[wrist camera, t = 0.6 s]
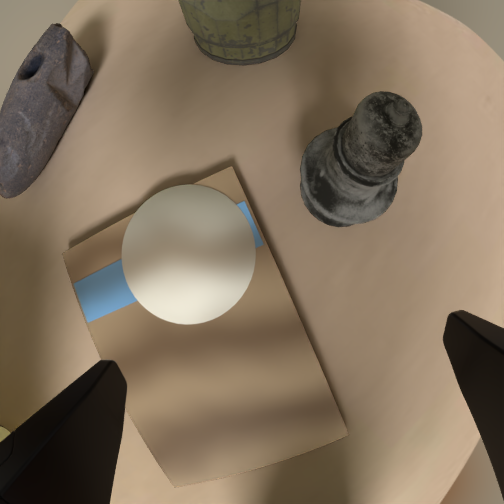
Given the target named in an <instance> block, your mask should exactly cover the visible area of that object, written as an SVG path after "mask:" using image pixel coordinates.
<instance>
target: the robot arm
mask: <svg viewBox="0 0 504 504" xmlns="http://www.w3.org/2000/svg"><path fill="white" fill-rule="evenodd" d="M443 343H444V346H445V349H446V351H447V354H448V357H449V359H450V362H451V365H452V367H453V370H454V373H455V376H456V379H457V382H458V384H459V387H460V389H461V391H462V394H463V396H464V398H465V400H466V403H467V405H468V407H469V409H470V412H471V414H472V416H473V418H474V421H475V423H476V425H477V428H478V430H479V433H480V435H481V438H482V440H483V443H484V445H485V448H486V450H487V453H488V455H489V458H490V461H491V463H492V466H493V469H494V472H495V475H496V478H497V481H498V484H499V487H500V490H501V493H502V497H503V500H504V328H502V327H499V326H497V325H495V324H493V323H491V322H488V321H486V320H484V319H482V318H480V317H477V316H475V315H473V314H471V313H468V312H466V311H464V310H459V311H455V312H452V313H450V314H449V315H448V318H447V322H446V327H445V331H444V335H443ZM126 396H127V382H126V379H125V377H124V376H123V374H122V372H121V370H120V368H119V366H118V364H117V363H116V362H115V361H114V360H100V361H99V362H97V363H96V364H95V365H94V366H93V367H91V368H90V369H89V370H88V371H86V372H85V373H84V374H83V375H81V376H80V377H79V378H78V379H76V380H75V381H74V382H73V383H72V384H70V385H69V386H68V387H67V388H65V389H64V390H63V391H62V392H61V393H59V394H58V395H57V396H56V397H54V398H53V399H52V400H51V401H50V402H48V403H47V404H46V405H45V406H43V407H42V408H41V409H40V410H39V411H37V412H36V413H35V414H34V415H32V416H31V417H30V418H29V419H28V420H26V421H25V422H24V423H23V424H22V425H20V426H19V427H18V428H17V429H16V430H15V431H13V432H12V433H11V434H9V435H8V436H7V437H6V438H5V439H3V440H2V441H1V442H0V504H110V499H111V493H112V487H113V481H114V475H115V470H116V464H117V459H118V454H119V449H120V444H121V438H122V432H123V424H124V414H125V405H126Z"/></svg>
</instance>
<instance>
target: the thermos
mask: <svg viewBox="0 0 504 504" xmlns="http://www.w3.org/2000/svg"><path fill="white" fill-rule="evenodd" d="M300 2H301V0H179V3H180V6H181V9H182V12H183V14H184V17H185V20H186V23H187V25H188V26H189V28H190V29H191V31H192V33H193V34H194V39H195V42H196V44H197V46H198V47H199V49H200V50H201V52H202V53H204V54H205V55H207V56H208V57H209V58H211V59H212V60H216V61H219V62H222V63H225V64H233V65H249V64H256V63H262V62H265V61H267V60H270V59H273V58H275V57H277V56H279V55H280V54H281V53H283V52H284V51H286V50H287V49H288V48H289V47H290V45H291V44H292V42H293V41H294V39H295V34H296V27H297V24H296V22H297V20H298V18H299V12H300Z"/></svg>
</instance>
